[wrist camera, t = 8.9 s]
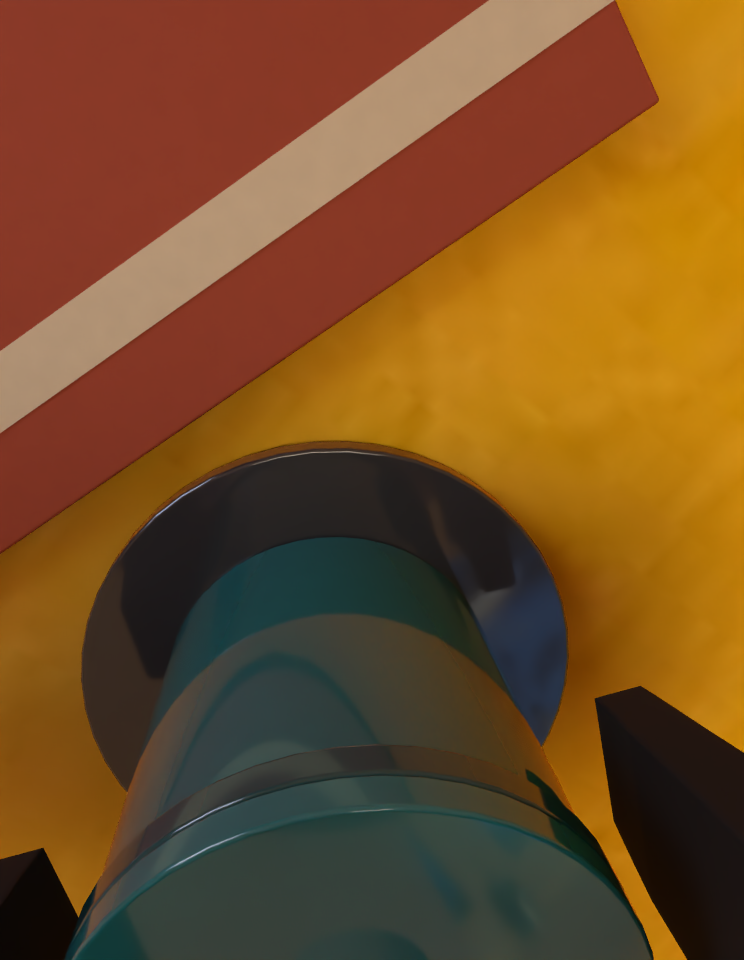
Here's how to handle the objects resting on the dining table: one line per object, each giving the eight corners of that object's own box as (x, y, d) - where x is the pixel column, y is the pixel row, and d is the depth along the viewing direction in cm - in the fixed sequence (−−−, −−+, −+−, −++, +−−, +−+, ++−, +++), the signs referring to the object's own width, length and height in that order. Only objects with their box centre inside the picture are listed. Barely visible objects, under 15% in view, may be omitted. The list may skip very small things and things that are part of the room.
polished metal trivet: (277, 920, 14) (276, 942, 14) (-20, 624, 12) (-33, 640, 11) (635, 704, 14) (647, 721, 13) (403, 337, 11) (408, 341, 11)
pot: (291, 866, 13) (289, 1424, 7) (88, 654, 12) (-162, 1143, 5) (549, 709, 13) (797, 1154, 7) (379, 462, 11) (491, 744, 5)
